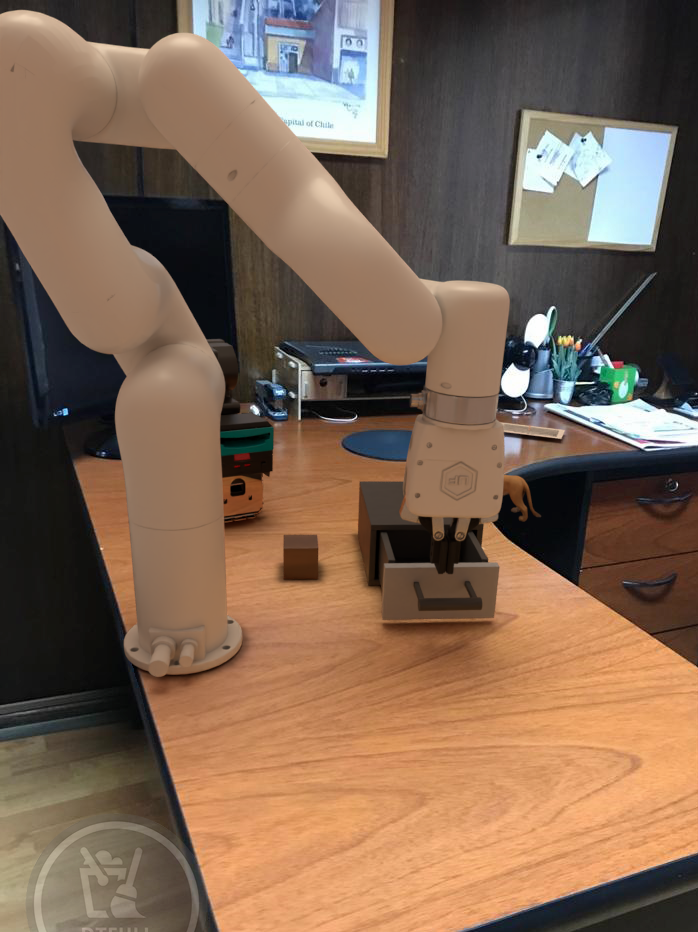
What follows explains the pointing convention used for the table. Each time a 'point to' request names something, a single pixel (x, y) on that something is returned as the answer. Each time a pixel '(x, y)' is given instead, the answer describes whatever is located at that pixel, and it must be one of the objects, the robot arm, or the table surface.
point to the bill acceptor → (241, 445)
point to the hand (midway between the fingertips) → (443, 568)
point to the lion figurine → (518, 495)
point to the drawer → (433, 579)
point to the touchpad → (533, 430)
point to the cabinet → (385, 520)
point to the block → (300, 557)
